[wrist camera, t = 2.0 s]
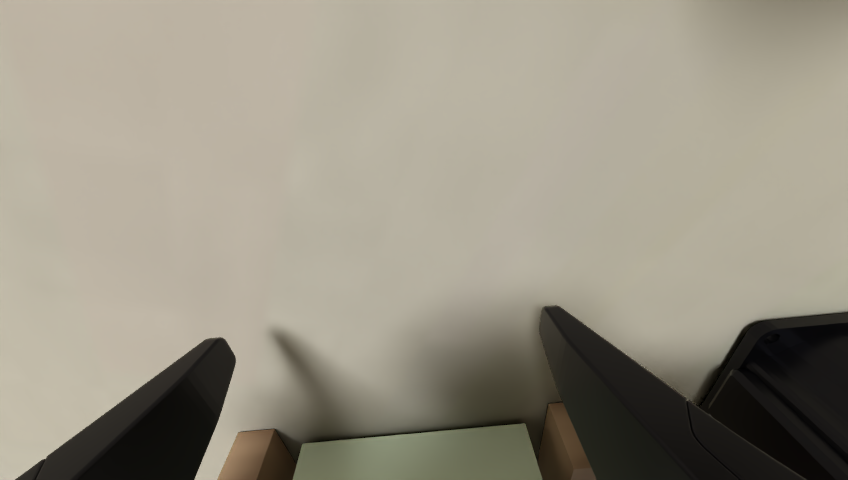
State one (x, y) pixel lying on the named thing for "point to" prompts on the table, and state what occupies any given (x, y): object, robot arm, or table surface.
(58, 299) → the table surface
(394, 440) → the block
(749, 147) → the table surface
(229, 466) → the chute rails
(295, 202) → the table surface
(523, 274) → the table surface
